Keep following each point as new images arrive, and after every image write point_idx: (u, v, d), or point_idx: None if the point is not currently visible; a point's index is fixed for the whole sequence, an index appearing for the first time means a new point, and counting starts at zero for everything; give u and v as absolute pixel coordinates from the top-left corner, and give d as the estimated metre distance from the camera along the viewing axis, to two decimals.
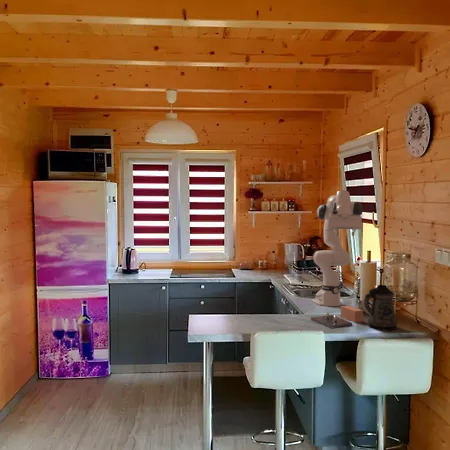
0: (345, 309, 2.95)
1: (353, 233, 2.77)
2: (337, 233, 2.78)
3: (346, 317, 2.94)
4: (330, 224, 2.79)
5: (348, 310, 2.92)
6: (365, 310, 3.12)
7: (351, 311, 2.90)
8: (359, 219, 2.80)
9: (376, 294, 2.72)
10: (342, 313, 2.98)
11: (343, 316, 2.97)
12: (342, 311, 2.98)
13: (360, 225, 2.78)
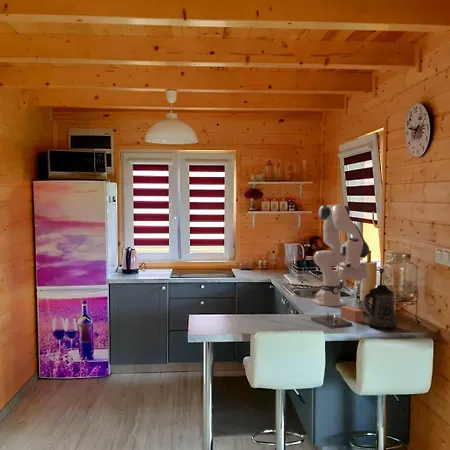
0: (345, 309, 2.95)
1: (359, 284, 2.94)
2: (347, 285, 2.91)
3: (346, 317, 2.94)
4: (343, 277, 2.88)
5: (348, 310, 2.92)
6: (365, 310, 3.12)
7: (351, 311, 2.90)
8: (365, 270, 2.94)
9: (376, 294, 2.72)
10: (342, 313, 2.98)
11: (343, 316, 2.97)
12: (342, 311, 2.98)
13: (365, 276, 2.95)
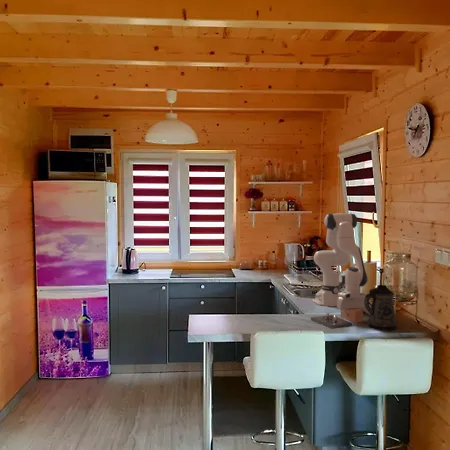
0: None
1: None
2: (347, 315, 2.92)
3: (346, 317, 2.94)
4: (342, 307, 2.89)
5: (348, 310, 2.92)
6: (365, 310, 3.13)
7: (351, 311, 2.90)
8: None
9: (376, 294, 2.72)
10: (342, 313, 2.98)
11: (343, 316, 2.97)
12: (342, 311, 2.98)
13: None
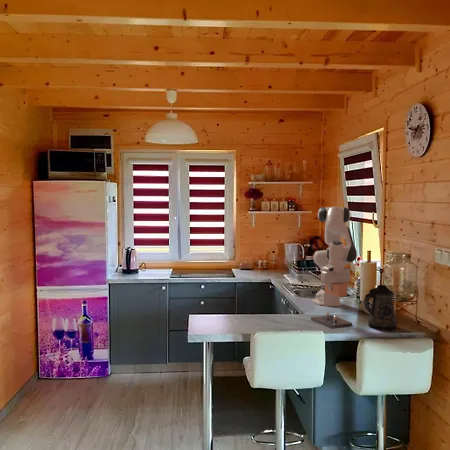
0: None
1: None
2: (331, 289, 2.84)
3: (330, 292, 2.86)
4: (325, 281, 2.80)
5: (332, 285, 2.84)
6: (365, 310, 3.13)
7: (335, 285, 2.81)
8: (349, 274, 2.87)
9: (376, 294, 2.72)
10: (326, 288, 2.89)
11: (327, 291, 2.88)
12: (326, 286, 2.89)
13: (349, 280, 2.88)
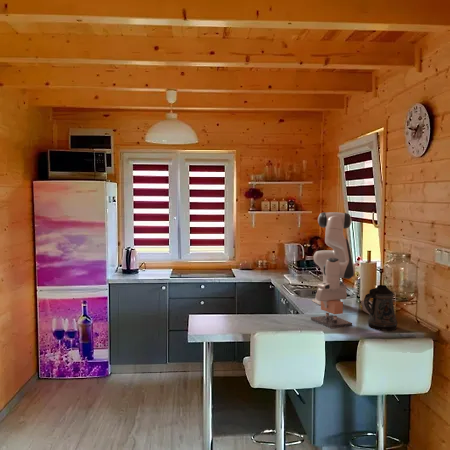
0: None
1: None
2: (327, 306, 2.83)
3: (326, 309, 2.85)
4: (321, 299, 2.80)
5: (328, 302, 2.83)
6: (365, 310, 3.13)
7: (331, 303, 2.81)
8: (345, 291, 2.87)
9: (376, 294, 2.72)
10: (322, 305, 2.89)
11: (323, 308, 2.88)
12: (322, 303, 2.89)
13: (345, 297, 2.87)
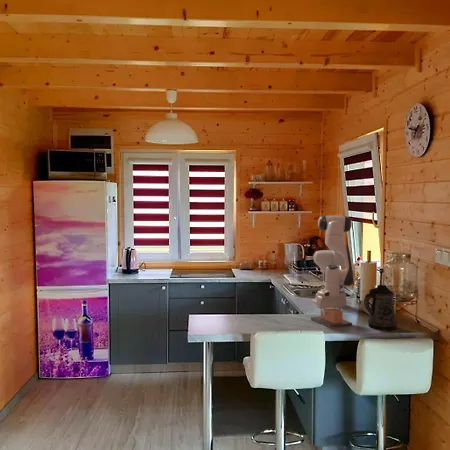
0: (325, 310, 2.87)
1: None
2: (325, 314, 2.83)
3: (326, 318, 2.86)
4: (321, 306, 2.80)
5: (327, 311, 2.84)
6: (365, 310, 3.13)
7: (330, 312, 2.81)
8: (345, 298, 2.87)
9: (376, 294, 2.72)
10: (322, 314, 2.89)
11: (323, 317, 2.89)
12: (322, 312, 2.89)
13: (345, 304, 2.87)
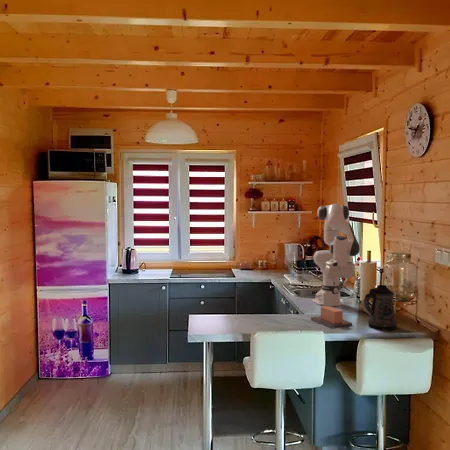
0: (325, 310, 2.87)
1: (346, 282, 2.92)
2: (333, 284, 2.88)
3: (326, 318, 2.86)
4: (329, 276, 2.85)
5: (327, 311, 2.84)
6: (365, 310, 3.13)
7: (330, 312, 2.81)
8: (352, 268, 2.92)
9: (376, 294, 2.72)
10: (322, 314, 2.89)
11: (323, 317, 2.89)
12: (322, 312, 2.89)
13: (353, 274, 2.92)
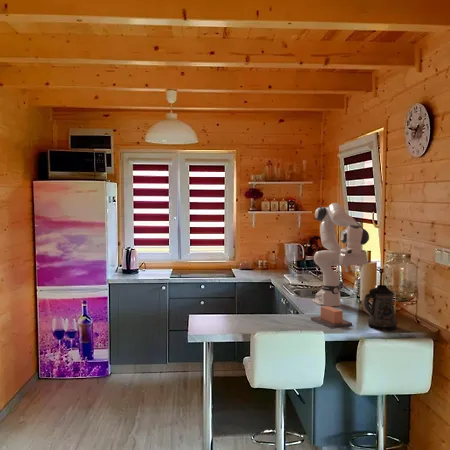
0: (325, 310, 2.87)
1: (359, 270, 3.01)
2: (348, 271, 2.98)
3: (326, 318, 2.86)
4: (344, 263, 2.95)
5: (327, 311, 2.84)
6: (365, 310, 3.13)
7: (330, 312, 2.81)
8: (366, 256, 3.02)
9: (376, 294, 2.72)
10: (322, 314, 2.89)
11: (323, 317, 2.89)
12: (322, 312, 2.89)
13: (366, 262, 3.02)
